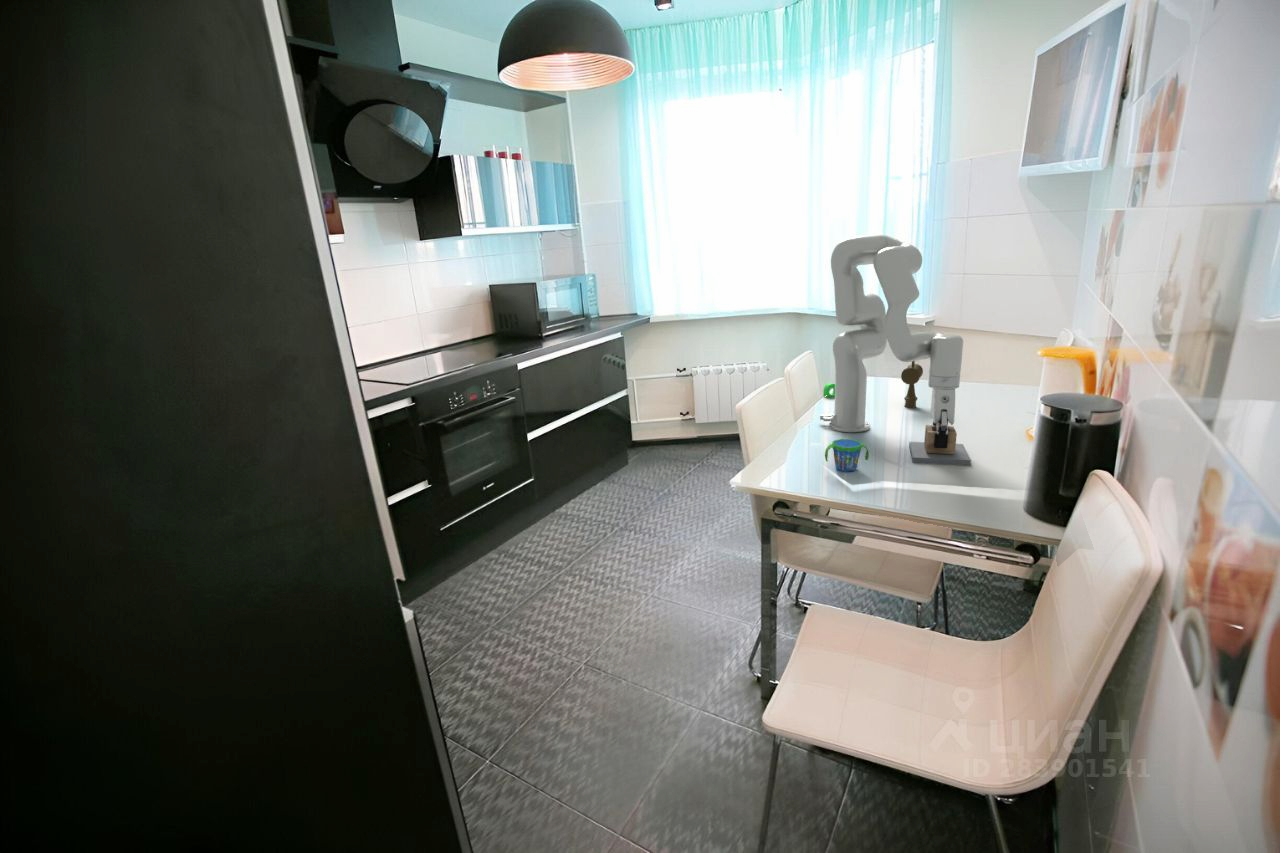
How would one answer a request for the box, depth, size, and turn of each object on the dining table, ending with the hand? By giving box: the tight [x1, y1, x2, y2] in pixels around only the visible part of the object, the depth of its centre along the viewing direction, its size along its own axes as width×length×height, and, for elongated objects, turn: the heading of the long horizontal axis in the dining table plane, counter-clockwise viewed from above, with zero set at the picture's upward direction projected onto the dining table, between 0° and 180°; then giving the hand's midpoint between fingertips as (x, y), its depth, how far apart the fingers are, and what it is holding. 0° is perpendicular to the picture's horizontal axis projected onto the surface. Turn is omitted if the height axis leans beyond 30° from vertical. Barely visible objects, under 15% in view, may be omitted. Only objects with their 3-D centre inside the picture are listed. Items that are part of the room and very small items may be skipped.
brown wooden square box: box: [923, 424, 958, 454], centre depth 161 cm, size 7×7×6 cm
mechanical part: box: [823, 382, 835, 398], centre depth 223 cm, size 12×6×8 cm, turn 102°
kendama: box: [900, 361, 924, 409], centre depth 204 cm, size 6×10×20 cm, turn 147°
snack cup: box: [824, 438, 870, 473], centre depth 157 cm, size 11×8×7 cm
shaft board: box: [908, 441, 972, 466], centre depth 162 cm, size 14×14×6 cm
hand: (938, 443), depth 162 cm, fingers closed on brown wooden square box, 6 cm apart
